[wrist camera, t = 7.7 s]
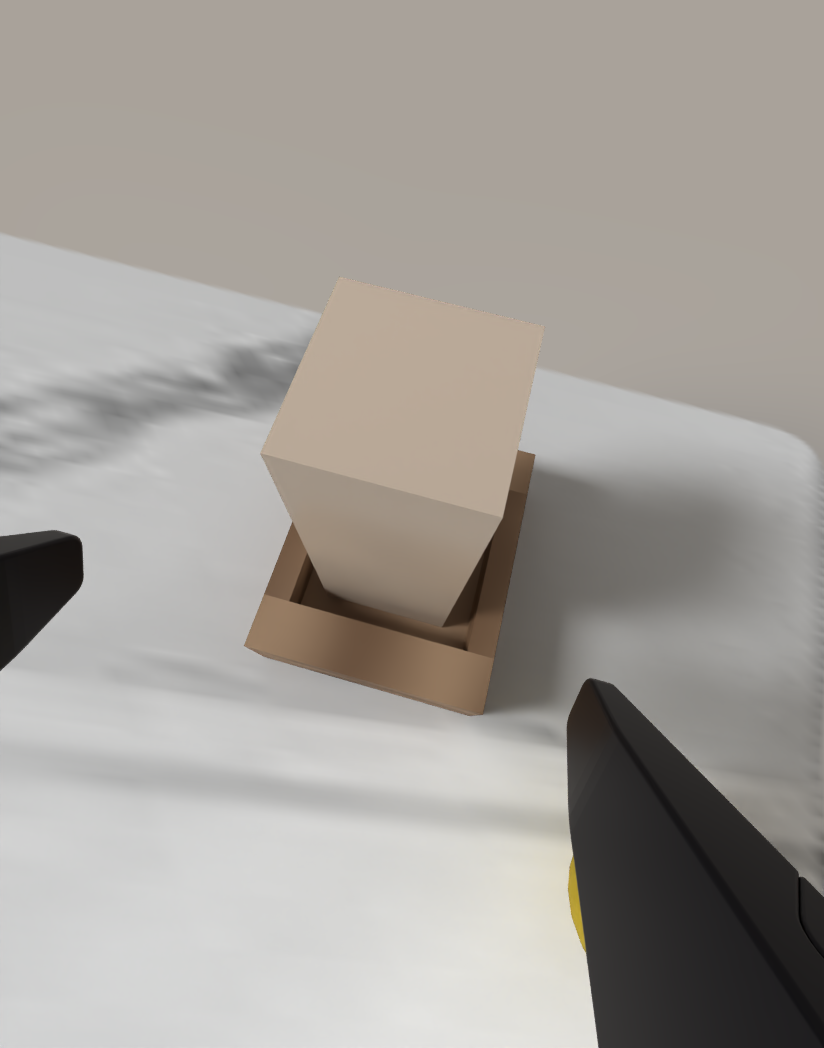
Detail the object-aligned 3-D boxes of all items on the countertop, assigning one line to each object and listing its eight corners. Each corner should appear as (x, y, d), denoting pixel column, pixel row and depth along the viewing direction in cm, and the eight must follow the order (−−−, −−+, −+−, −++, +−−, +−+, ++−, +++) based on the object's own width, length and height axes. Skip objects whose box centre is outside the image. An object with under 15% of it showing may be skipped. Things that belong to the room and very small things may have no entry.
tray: (517, 486, 25) (535, 454, 22) (469, 715, 21) (483, 714, 18) (344, 441, 25) (338, 404, 22) (264, 656, 21) (243, 645, 18)
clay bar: (468, 520, 23) (544, 326, 12) (441, 627, 21) (502, 517, 10) (362, 492, 23) (338, 276, 12) (327, 595, 21) (260, 453, 10)
